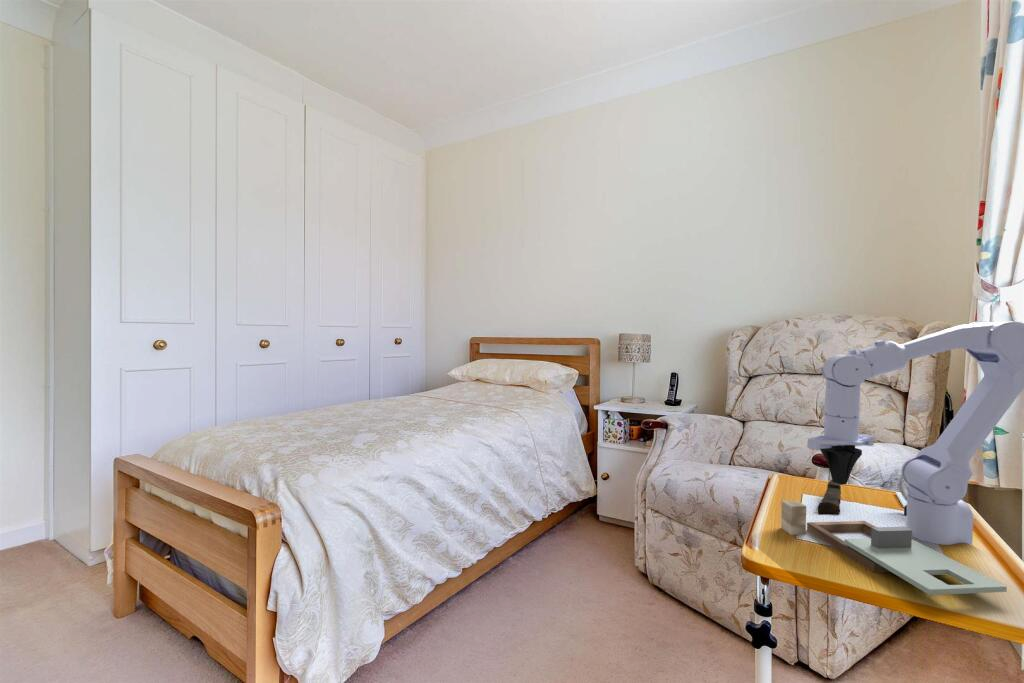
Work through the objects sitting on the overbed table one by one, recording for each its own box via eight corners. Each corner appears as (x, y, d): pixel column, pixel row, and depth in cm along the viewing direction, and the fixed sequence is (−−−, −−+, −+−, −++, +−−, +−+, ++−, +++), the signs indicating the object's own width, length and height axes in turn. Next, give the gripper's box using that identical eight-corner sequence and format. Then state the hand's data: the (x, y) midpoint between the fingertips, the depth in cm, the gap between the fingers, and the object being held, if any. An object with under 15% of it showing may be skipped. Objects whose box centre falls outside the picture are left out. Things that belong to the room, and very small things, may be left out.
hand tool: (839, 523, 102) (839, 501, 102) (817, 518, 104) (817, 497, 104) (849, 498, 116) (849, 479, 116) (829, 494, 119) (830, 476, 119)
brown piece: (864, 535, 95) (864, 520, 95) (941, 578, 79) (942, 560, 79) (806, 537, 94) (807, 522, 94) (873, 581, 78) (874, 563, 78)
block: (795, 534, 96) (796, 500, 95) (805, 541, 93) (806, 506, 92) (780, 535, 95) (781, 500, 95) (790, 542, 92) (791, 506, 92)
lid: (908, 541, 85) (908, 520, 85) (1006, 591, 70) (1007, 566, 69) (844, 543, 85) (845, 522, 84) (929, 594, 69) (930, 569, 69)
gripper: (831, 421, 89) (828, 492, 90) (890, 417, 93) (887, 486, 94) (799, 414, 96) (797, 480, 97) (855, 411, 100) (853, 475, 100)
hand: (839, 482), depth 96 cm, fingers closed
